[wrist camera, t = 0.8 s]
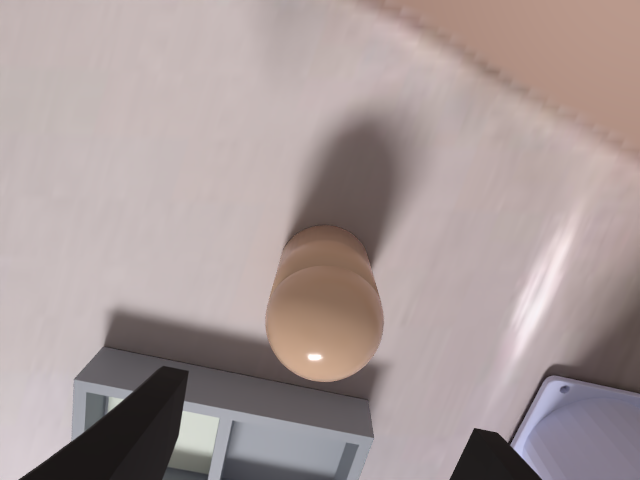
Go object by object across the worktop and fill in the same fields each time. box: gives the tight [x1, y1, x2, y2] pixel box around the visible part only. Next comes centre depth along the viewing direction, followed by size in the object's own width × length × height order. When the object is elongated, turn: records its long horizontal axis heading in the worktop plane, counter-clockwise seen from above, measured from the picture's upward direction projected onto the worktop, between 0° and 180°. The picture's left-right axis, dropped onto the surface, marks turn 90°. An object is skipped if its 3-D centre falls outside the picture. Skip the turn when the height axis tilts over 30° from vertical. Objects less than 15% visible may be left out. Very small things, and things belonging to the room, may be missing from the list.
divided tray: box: [72, 347, 374, 480], centre depth 21 cm, size 15×8×3 cm, turn 76°
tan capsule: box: [265, 225, 384, 382], centre depth 16 cm, size 4×4×7 cm
